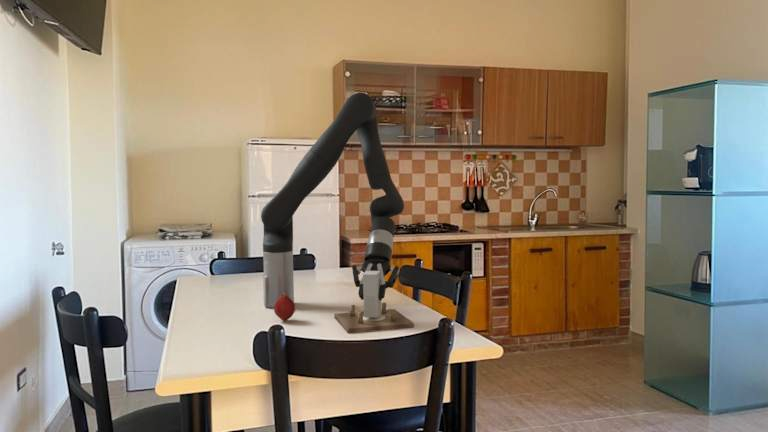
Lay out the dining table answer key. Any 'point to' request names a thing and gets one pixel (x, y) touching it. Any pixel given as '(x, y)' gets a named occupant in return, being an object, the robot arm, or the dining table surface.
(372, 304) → the skincare box
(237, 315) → the dining table surface
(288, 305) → the onion
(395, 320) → the standoff plate
